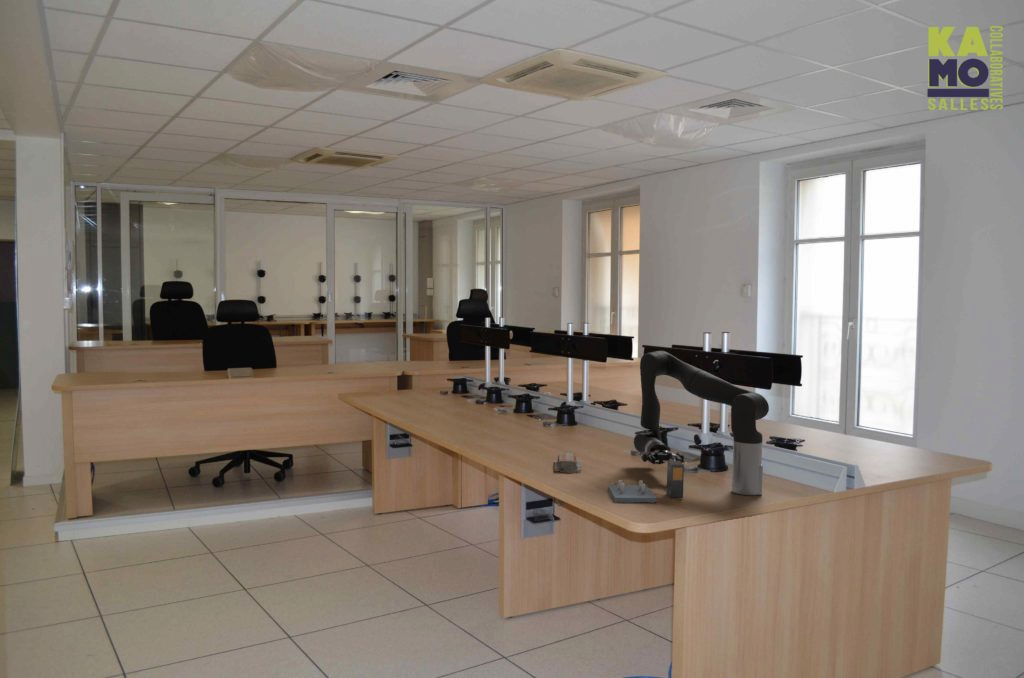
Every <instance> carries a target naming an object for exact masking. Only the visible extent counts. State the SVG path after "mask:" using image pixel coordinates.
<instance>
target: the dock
mask: <svg viewBox="0 0 1024 678" xmlns="http://www.w3.org/2000/svg"><path fill="white" fill-rule="evenodd" d="M607 490H609V491H608V493H609V494H610V495H611V497H612V499H613V501H614V502H615V503H634V502H652V503H653V504H654V502H656V503H657V496H656V495H655V494H654V493H653V492H652V490H651V489H650V488H649V487H648V485H646V483H643V479H642V480H638V485H635V484H633V485H631V484H628V485H625V483H623V480H622V479H619V480H618V481H617V484H609V485H607ZM652 503H651V504H652Z"/></svg>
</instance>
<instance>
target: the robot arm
mask: <svg viewBox="0 0 1024 678" xmlns="http://www.w3.org/2000/svg"><path fill="white" fill-rule="evenodd" d="M639 371H640V372H639V373H640V387H641V388H640V389H641V414H640V426H641V427H642V429H645V430H647V431H648V430H649V431H652V433H650V432H639V433H637V434H636V435H635V436H634V438H633V445H634V448H635V449H636V451H638V452H639V453H641V454H640V457H641V460H642V462H644V463H646V462H647V461H648V463H650V464H652V465H662V464H663V465H664V464H665V463H667V461H680V462H681V463H683V464H684V463H685V455H684V454H683V453H682V452H679V451H677V452H676V453H674V452H672V451H670V449H669V447H668V446H667V445H666V444H665V443H664V442H663V440H662V435H661V431H660V417H661V403H660V400H659V398H658V395H657V393H656V385H655V384H656V379H657V377H659V376H668V377H671V378H673V379H676V380H678V381H679V382H680V383H681V385H682V387H683V388H684V390H686V391H687V392H688V393H690V394H691V395H694V396H696V397H698V398H700V399H703V400H706V401H709V402H714V403H718V404H723V405H727V406H729V407H730V423H731V424H730V427H731V428H730V429H731V434H732V435H733V437H732V438H733V443H732V444H733V445H732V447H733V449H732V476H731V479H732V480H731V492H732V493H734V494H738V495H742V496H743V495H744V496H758V495H759V496H762V495H763V477H764V476H763V475H764V474H763V473H764V472H763V471H764V469H763V468H764V467H763V465H762V463H763V434H762V433H761V432H760V431H758V430H757V421H759V420H762V419H763V418H765V417H766V416H767V415H768V413H769V409H770V406H769V402H768V400H767V399H766V398H765V397H764V396H763V395H762V394H760V393H758V392H754V391H752V390H748V389H745V388H742V387H739V386H737V385H734V384H732V383H731V382H728V381H726V380H724V379H722V378H720V377H718V376H716V375H714V374H712V373H710V372H707V371H705V370H703V369H700V368H698V367H697V366H695V365H694V366H693V365H692V364H689V363H687V362H684V361H683V360H681V359H680V358H679V359H678V358H677V357H676V356H674V355H672V354H671V353H669V352H667V351H665V350H656V351H651V352H647V353H644V354H643V355H642V356H641V358H640V363H639Z"/></svg>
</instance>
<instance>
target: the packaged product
mask: <svg viewBox="0 0 1024 678" xmlns="http://www.w3.org/2000/svg"><path fill="white" fill-rule="evenodd" d="M576 458H577V457H576V453H575V452H572V451H569V452H562V453H559V454H558V455H557V460H556V459H554V472H555V471H560V472H559V473H573V472H579V473H580V472H582V465H581V459H576ZM579 473H578V474H579ZM580 474H581V473H580Z"/></svg>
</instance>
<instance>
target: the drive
mask: <svg viewBox="0 0 1024 678" xmlns="http://www.w3.org/2000/svg"><path fill="white" fill-rule="evenodd" d="M666 463H667V464H666V465H667V466H666V467H667V468H666V495H667V494H668V495H667V497H669V498H670V499H678V498H683V499H684V480H685V479H684V478H685V477H684V475H685V473H684V472H685V464H684V463H681V462H680V461H667V462H666Z"/></svg>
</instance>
